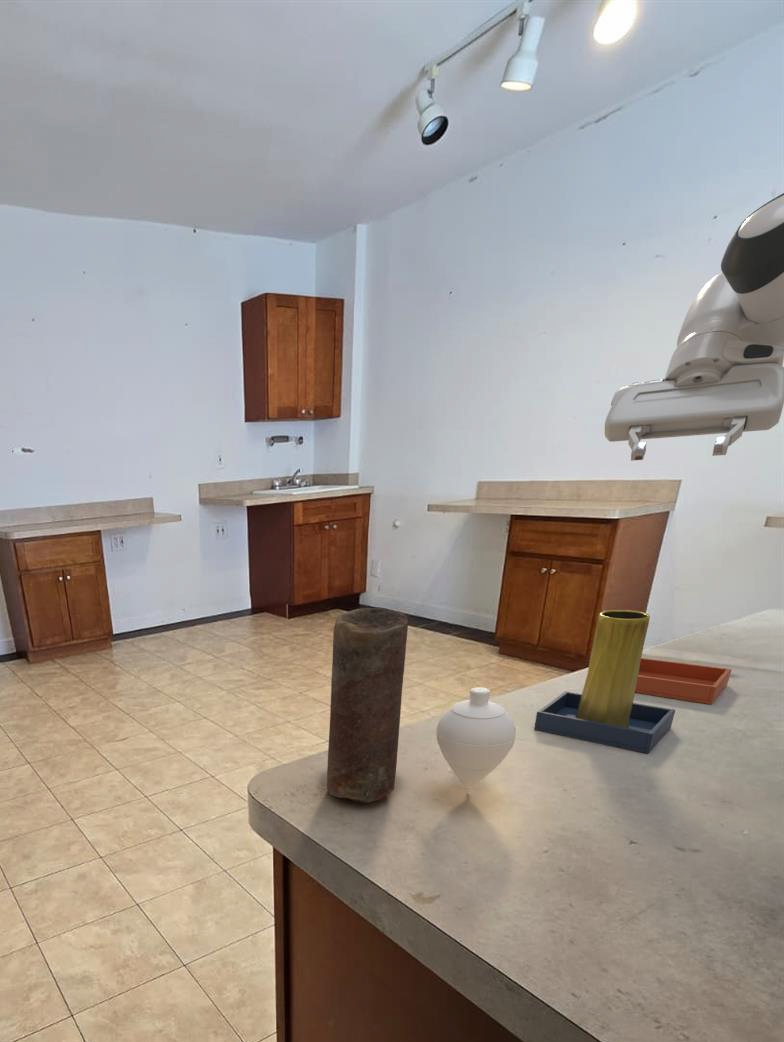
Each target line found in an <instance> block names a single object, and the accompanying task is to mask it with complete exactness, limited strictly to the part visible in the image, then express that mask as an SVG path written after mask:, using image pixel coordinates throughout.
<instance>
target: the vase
mask: <svg viewBox="0 0 784 1042" xmlns="http://www.w3.org/2000/svg"><path fill="white" fill-rule="evenodd" d="M650 618H651V616H650V614H649V613H647V612H643V611H639V610H630V609H610V610H603V611H601V612H599V614H598V616H597V621H596V626H595V631H594V636H593V637H594V638H593V643H592V648H591V652H590V658H589V663H588V669H587V675H586V679H585V682H584V685H583V689H582V693H581V694H582V696H581V700H580V703H579V707H578V711H577V714H576V717H575V718H578V719H583V720H588V721H594V722H599V723H604V724H609V725H614V726H620V727H625V728H629V718H630V714H631V710H632V705H633V703H634V699H635V694H636V693H635V689H636V683H637V677H638V673H639V668H640V662H641V658H643V657H642V656H643V651H644V647H645V642H646V637H647V632H648V628H649V624H650Z"/></svg>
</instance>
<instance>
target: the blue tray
mask: <svg viewBox="0 0 784 1042" xmlns="http://www.w3.org/2000/svg"><path fill="white" fill-rule="evenodd" d="M581 696H582V693H578V692H571V691H564V692H562V693H561V694H559V695H558V696H557V697H555V698H554V699H553V700H551V701H550V702H549V703H547V704H546V705H544V706H543V707H542V708H540V709H539V710H538V711H536V715H535V722H534V730H535V731H539V732H545V733H549V734H553V735H558V736H564V737H567V738H572V739H577V740H582V741H587V742H591V743H596V744H601V745H606V746H611V747H616V748H621V749H624V750H630V751H634V752H639V753H644V754H650V752H651V751H652V750H653V749H654V748H655V746H656V745H657V744H658V743H659V742H660V741H661V740H662V739H663V737H664V736H665V735H666V734H667V733H668V732H669V730H671V728H672V724H673V721H674V717H675V713H676V709H673V708H666V707H662V706H655V705H649V704H644V703H638V702H633V705H632V710H631V714H630V718H629V728H625V727H620V726H614V725H609V724H604V723H599V722H594V721H588V720H583V719H578V718H575V717H576V714H577V711H578V707H579V703H580V700H581Z"/></svg>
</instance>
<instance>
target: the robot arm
mask: <svg viewBox="0 0 784 1042" xmlns="http://www.w3.org/2000/svg"><path fill="white" fill-rule="evenodd" d="M720 270H721V272H720V273H718V274H716V276H714V277H712V279H710V280H709V281H708V282H707V283H706V284H705V285H704V286H703V287H702V288H701V290H700V291H699V292H698V294H697V295H696V296H695V298H694V299H693V300H692V303H691V304H690V306H689V308H688V309H687V312H686V315H685V317H684V319H683V321H682V324H681V328H680V329H679V333H678V336H677V340H676V349H675V350H674V352H673V353H672V355H671V357H670V361H669V363H668V367H667V370H666V373H665V377H664V378H662V379H654V380H653V379H652V380H649V381H648V380H647V381H643V382H632V383H629V384H627V386H624V387H621V388H620V389H618V390H616V391H615V393H614V395H613V397H612V399H611V403H610V406H611V407H610V409H609V410H608V413H607V415H606V418H605V421H604V437H605V439H606V440H607V441H609V442H610V443H611V442H625V441H628V442H627V443H628V446H629V448H630V450H631V454H630V461H631V462H632V461H633V462H634V461H643V460H644V458H645V455H646V452H647V441H641V440H652V439H667V438H679V437H693V436H705V435H707V436H709V435H718V434H719V435H720V434H725V435H723V436H717V437H716V438H715V443H714V445H713V450H712V455H711V456H712V457H715V456H716V457H719V456H726V455H727V453H728V450H729V447H730V446H732V445H733V444H734V443H735V442H736V441H737V440H739V439H740V438H741V437H742V436H743V433H744V432H745V433H748V432H759V431H769V430H771V429H772V428H775V426H777V425H778V424H779V422H780V419H781V417H782V412H783V408H784V192H783V193H781V194H779V195H778V196H776V197H774V198H772V199H771V200H769V201H768V202H766V203H764V204H763V205H762V206H760V207H758V208H757V209H755V210H754V211H753V212H752V213H750V214H749V215H748V216H747V217H746V218H745V219H744V220H743V221H742V222H741V223H740V225H739V226H738V227H737V229H736V230H735V231H734V233H733V235H732V237H731V239H730V240H729V242H728V245H727V246H726V249H725V251H724V254H723V255H722V259H721V262H720Z"/></svg>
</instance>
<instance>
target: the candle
mask: <svg viewBox="0 0 784 1042" xmlns="http://www.w3.org/2000/svg"><path fill="white" fill-rule="evenodd" d="M408 629H409V620H408V617H407V615H406V614H405V613H403V612H402V611H399V610H394V609H389V608H385V607H365V608H363V607H360V608H356V609H353V610H349V611H347V612H346V613H343V614H340V615H339V616H338V617H337V618H336V620H335V622H334V626H333V632H332V634H333V635H332V637H333V639H332V662H331V663H332V665H331V679H330V680H331V684H330V685H331V686H330V708H329V710H330V711H329V712H330V713H329V729H328V730H329V732H328V750H327V769H326V770H327V771H326V789H327V793H329V794H330V795H331V796H333V797H337V798H341V799H343V798H344V799H349V800H350V801H352V802H354V803H361V804H368V803H369V804H370V803H371V802H375V801H379V800H382V799H383V798H384V797H386V796H389V795H390V794H391V793H393V791H394V790H395V784H396V774H397V765H398V764H397V763H398V749H399V737H400V725H401V715H402V714H401V713H402V711H401V710H402V698H403V697H402V696H403V695H402V694H403V685H404V674H405V665H406V664H405V663H406V654H407V641H408Z"/></svg>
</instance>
